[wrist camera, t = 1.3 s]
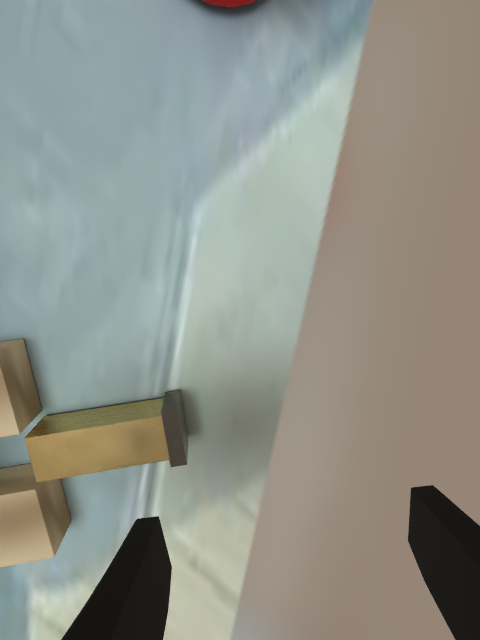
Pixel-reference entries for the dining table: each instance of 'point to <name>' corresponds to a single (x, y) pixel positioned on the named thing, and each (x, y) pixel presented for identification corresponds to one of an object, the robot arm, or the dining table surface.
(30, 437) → the key
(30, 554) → the socket block
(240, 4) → the beer can
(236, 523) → the dining table surface
